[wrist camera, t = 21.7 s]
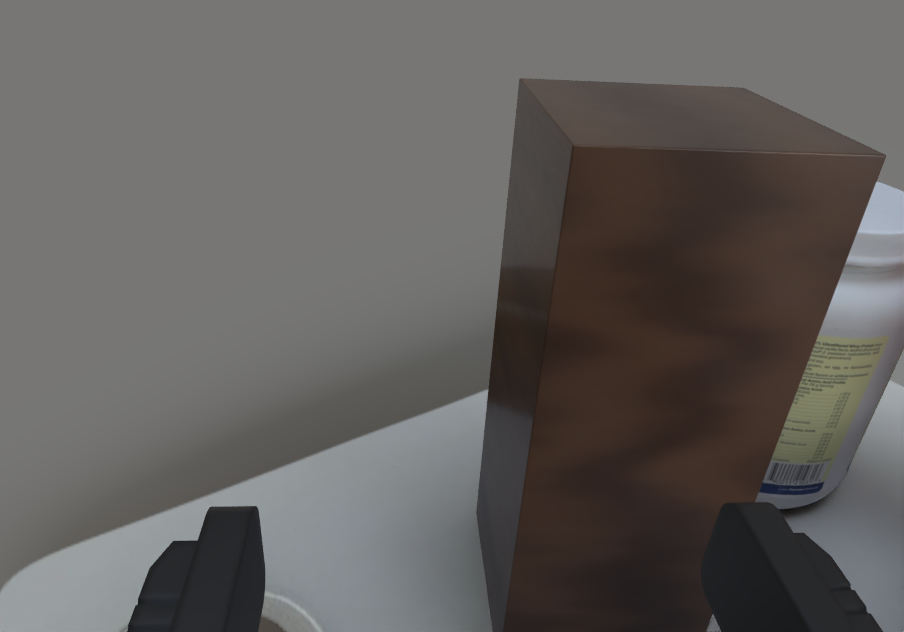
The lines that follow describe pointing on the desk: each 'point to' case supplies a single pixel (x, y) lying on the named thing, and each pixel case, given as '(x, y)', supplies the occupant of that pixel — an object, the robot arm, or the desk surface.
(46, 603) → the desk surface
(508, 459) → the plant stand
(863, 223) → the supplement tub
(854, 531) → the desk surface
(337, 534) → the desk surface
